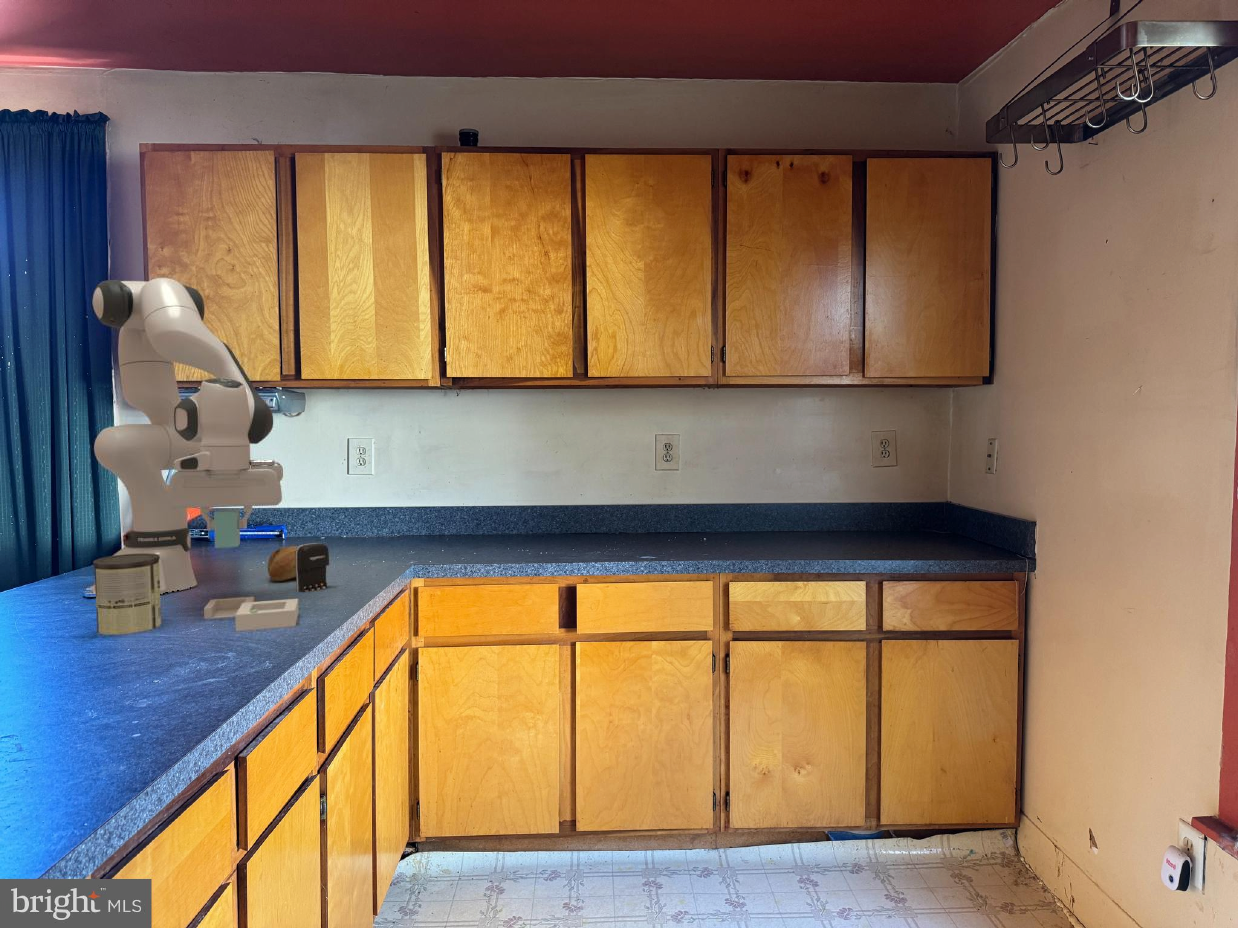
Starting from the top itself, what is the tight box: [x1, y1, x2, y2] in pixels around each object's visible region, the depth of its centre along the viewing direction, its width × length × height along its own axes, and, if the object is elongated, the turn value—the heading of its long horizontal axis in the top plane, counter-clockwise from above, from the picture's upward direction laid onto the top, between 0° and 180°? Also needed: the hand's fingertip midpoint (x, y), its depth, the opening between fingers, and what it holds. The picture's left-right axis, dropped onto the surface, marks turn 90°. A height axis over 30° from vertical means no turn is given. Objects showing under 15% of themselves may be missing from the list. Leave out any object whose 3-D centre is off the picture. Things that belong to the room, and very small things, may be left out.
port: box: [235, 598, 299, 632], centre depth 143 cm, size 10×10×4 cm
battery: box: [295, 542, 330, 593], centre depth 172 cm, size 7×4×11 cm, turn 143°
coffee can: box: [93, 553, 162, 636], centre depth 139 cm, size 10×10×14 cm
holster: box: [203, 596, 255, 620], centre depth 151 cm, size 8×8×3 cm
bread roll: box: [267, 545, 299, 582], centre depth 190 cm, size 10×15×8 cm, turn 170°
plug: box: [213, 509, 241, 549], centre depth 150 cm, size 4×4×7 cm
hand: (227, 529), depth 150 cm, fingers closed on plug, 4 cm apart
